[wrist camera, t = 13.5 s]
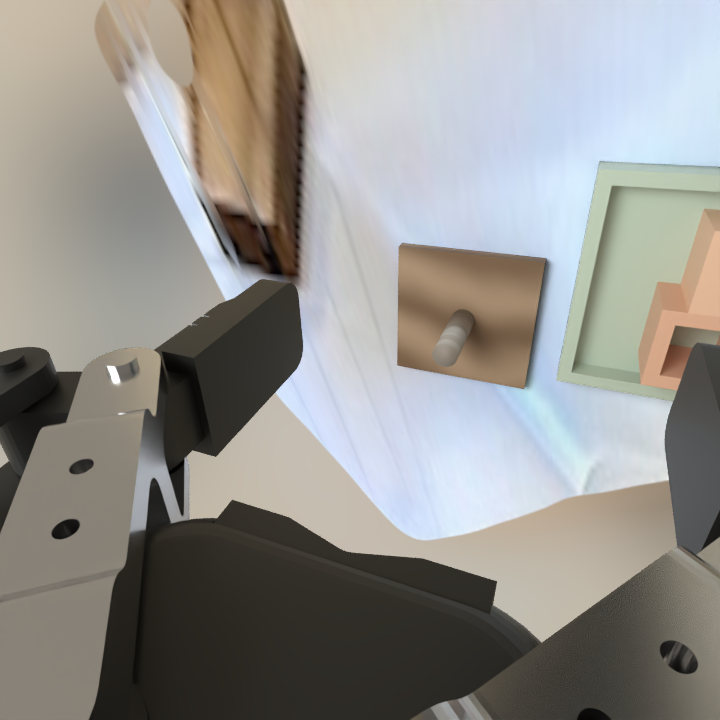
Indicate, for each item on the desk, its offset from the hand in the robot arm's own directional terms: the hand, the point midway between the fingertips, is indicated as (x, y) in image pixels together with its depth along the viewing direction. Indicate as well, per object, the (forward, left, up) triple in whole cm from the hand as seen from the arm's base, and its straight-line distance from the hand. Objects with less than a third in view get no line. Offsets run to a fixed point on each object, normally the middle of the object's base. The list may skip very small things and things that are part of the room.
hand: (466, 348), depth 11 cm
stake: (+16, -6, -33) cm, 37 cm away
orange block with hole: (+11, +11, -32) cm, 36 cm away
